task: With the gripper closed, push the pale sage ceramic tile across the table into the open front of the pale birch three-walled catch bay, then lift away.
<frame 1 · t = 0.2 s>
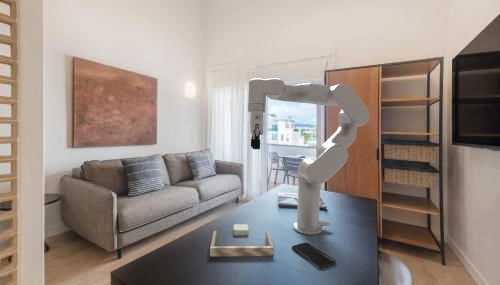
hand: (255, 148, 101), 36 cm above the table, tool pointing down, fingers open, 9 cm apart
sage tile: (240, 232, 100), on the table
catch bay: (241, 246, 88), on the table
phone: (312, 257, 83), on the table
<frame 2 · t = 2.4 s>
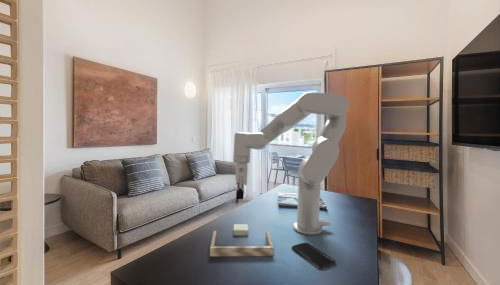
hand: (239, 198, 107), 12 cm above the table, tool pointing down, fingers closed
nothing on the table moved.
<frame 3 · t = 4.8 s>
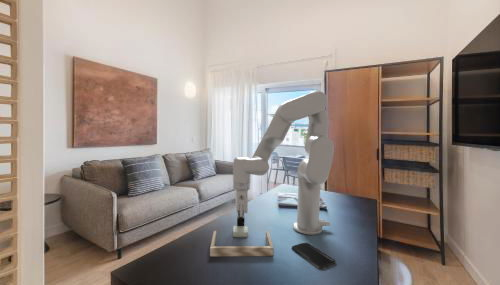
hand: (240, 226, 103), 1 cm above the table, tool pointing down, fingers closed
sage tile: (240, 234, 99), on the table
everything else where it was.
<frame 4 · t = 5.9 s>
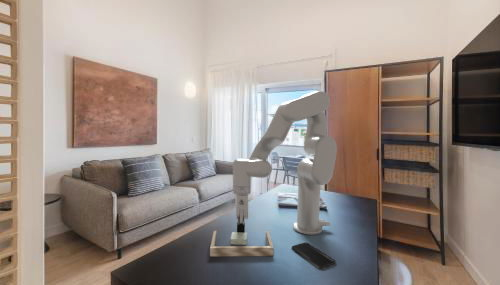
hand: (240, 232, 97), 1 cm above the table, tool pointing down, fingers closed
sage tile: (238, 241, 92), on the table, touching gripper
everything else where it was.
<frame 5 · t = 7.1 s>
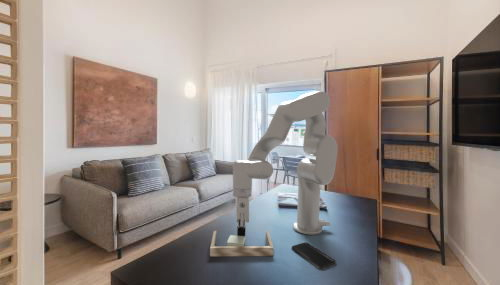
hand: (241, 236, 94), 1 cm above the table, tool pointing down, fingers closed
sage tile: (236, 245, 89), on the table
everything else where it was.
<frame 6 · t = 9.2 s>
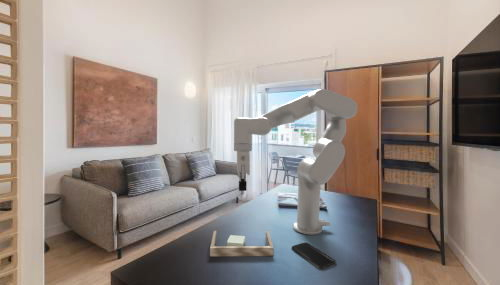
hand: (242, 190, 99), 18 cm above the table, tool pointing down, fingers closed
nothing on the table moved.
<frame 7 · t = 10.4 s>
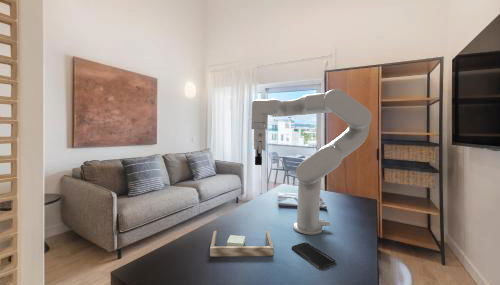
hand: (258, 164, 112), 27 cm above the table, tool pointing down, fingers closed
nothing on the table moved.
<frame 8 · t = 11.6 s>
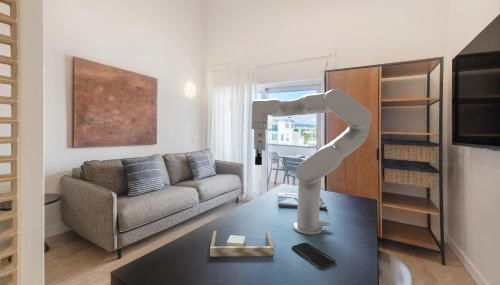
hand: (258, 164, 112), 27 cm above the table, tool pointing down, fingers closed
nothing on the table moved.
at the end: sage tile inside the target area (2.3 cm from its centre), on the table; sage tile moved 11.0 cm from its start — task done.
